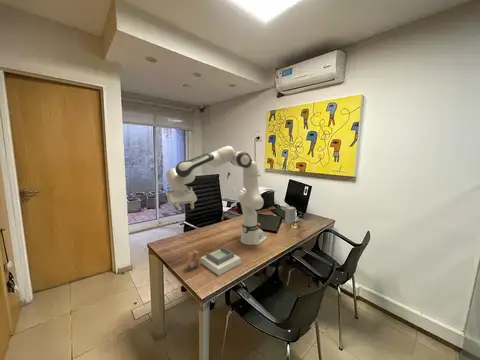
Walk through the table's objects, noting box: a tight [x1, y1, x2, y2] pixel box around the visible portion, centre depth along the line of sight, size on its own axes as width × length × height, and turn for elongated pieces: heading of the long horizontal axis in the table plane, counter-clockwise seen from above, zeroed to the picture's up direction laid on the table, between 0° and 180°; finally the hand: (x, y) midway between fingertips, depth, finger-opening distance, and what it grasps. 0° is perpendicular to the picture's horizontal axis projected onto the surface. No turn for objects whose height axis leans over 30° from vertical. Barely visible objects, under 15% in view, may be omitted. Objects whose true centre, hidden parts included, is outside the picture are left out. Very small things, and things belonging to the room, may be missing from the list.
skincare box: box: [284, 206, 297, 225], centre depth 203 cm, size 8×7×16 cm
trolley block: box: [187, 249, 200, 271], centre depth 124 cm, size 5×4×10 cm
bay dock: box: [200, 245, 242, 276], centre depth 129 cm, size 18×18×7 cm
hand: (186, 209), depth 128 cm, fingers open, 8 cm apart
